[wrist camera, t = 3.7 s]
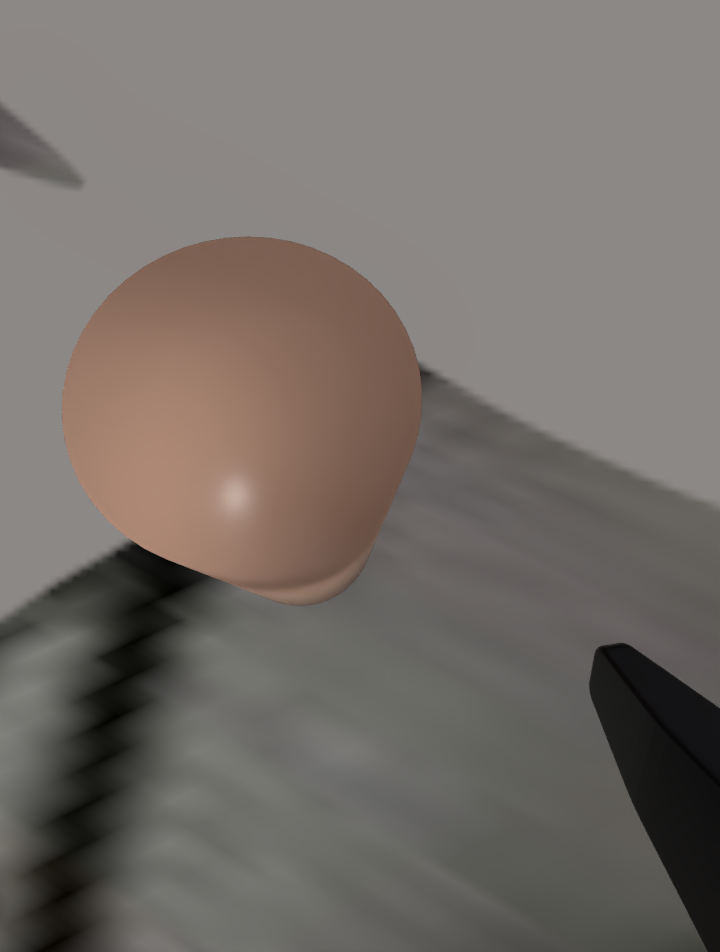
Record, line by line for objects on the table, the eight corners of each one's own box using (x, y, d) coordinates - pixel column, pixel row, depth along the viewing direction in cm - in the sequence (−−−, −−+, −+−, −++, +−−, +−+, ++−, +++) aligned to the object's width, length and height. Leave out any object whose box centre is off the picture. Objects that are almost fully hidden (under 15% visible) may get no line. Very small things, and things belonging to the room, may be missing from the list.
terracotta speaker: (399, 557, 20) (490, 451, 8) (274, 634, 19) (165, 647, 7) (326, 440, 21) (308, 185, 9) (204, 509, 20) (3, 334, 8)
